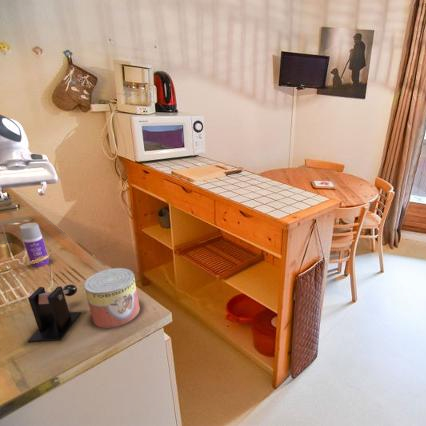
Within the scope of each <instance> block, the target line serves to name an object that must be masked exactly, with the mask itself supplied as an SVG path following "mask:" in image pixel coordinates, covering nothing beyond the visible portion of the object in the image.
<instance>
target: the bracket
mask: <svg viewBox="0 0 426 426" xmlns="http://www.w3.org/2000/svg"><path fill="white" fill-rule="evenodd" d="M45 292H46V289H45V287H44V286H39V287H38V288H37V289H36V290H35V291H34V292H33V293H32V294H31V295H29V296H28V297H27V298H28V302H29V305H30V308H31V311H32V314H33V316H34V320H35V322H36V326H37V328H38V329H37V330H36V331H35V332H34V333H33V335H32V336H31V337H30V338H29V339H28V341H27V342H28V343H44V342H45V343H46V342H58V341H62V340H63V338H64V337H65V336H66V334H67V333H68V332H69V331H70V330H71V328H72V327H73V325H74V324H75V323H76V321H77V320H78V318H79V317H80V316H81V315H82V311H72V312H70V309H69V306H68V303H67V300H66V296H65V295H64V292H63V286H61V285H60V286H56V288H54V289H53V291H51V292H52V293H51V294H50V295H49V296H48V297H47V298H48V302H49V304H38V303H39V294H42V293H45Z"/></svg>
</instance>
